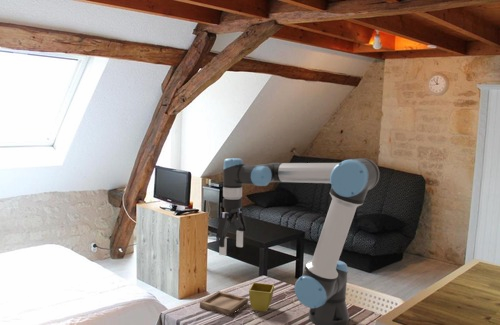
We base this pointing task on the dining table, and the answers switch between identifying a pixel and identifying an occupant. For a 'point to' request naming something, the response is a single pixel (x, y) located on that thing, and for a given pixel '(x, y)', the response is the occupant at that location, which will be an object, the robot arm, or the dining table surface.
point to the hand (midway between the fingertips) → (231, 250)
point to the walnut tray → (223, 302)
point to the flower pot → (260, 296)
